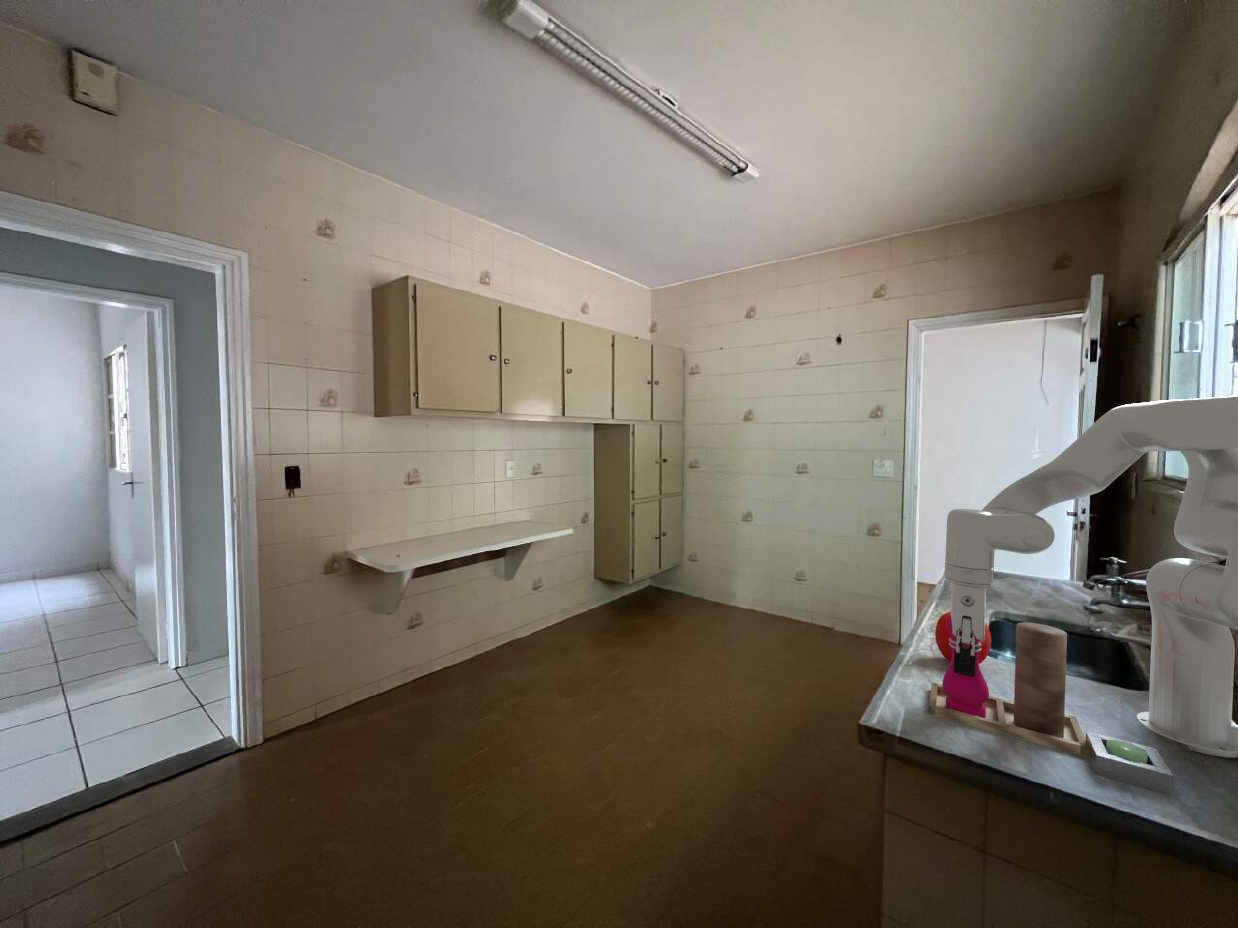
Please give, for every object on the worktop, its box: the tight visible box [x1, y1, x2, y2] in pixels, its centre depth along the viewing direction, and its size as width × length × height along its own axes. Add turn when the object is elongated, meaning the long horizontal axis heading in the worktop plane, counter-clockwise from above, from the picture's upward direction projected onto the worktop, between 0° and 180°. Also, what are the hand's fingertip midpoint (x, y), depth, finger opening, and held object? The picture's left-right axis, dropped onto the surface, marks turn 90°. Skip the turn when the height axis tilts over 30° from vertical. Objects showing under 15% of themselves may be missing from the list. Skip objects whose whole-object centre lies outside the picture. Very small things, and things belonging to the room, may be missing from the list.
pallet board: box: [928, 682, 1089, 758], centre depth 90 cm, size 22×12×2 cm, turn 55°
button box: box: [1085, 730, 1174, 797], centre depth 76 cm, size 8×8×4 cm
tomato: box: [934, 611, 992, 665], centre depth 115 cm, size 11×11×13 cm
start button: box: [1106, 739, 1147, 764], centre depth 76 cm, size 4×4×4 cm
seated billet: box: [1013, 622, 1068, 738], centre depth 87 cm, size 7×7×18 cm
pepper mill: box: [941, 616, 990, 718], centre depth 92 cm, size 7×7×20 cm
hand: (963, 667), depth 93 cm, fingers open, 5 cm apart
